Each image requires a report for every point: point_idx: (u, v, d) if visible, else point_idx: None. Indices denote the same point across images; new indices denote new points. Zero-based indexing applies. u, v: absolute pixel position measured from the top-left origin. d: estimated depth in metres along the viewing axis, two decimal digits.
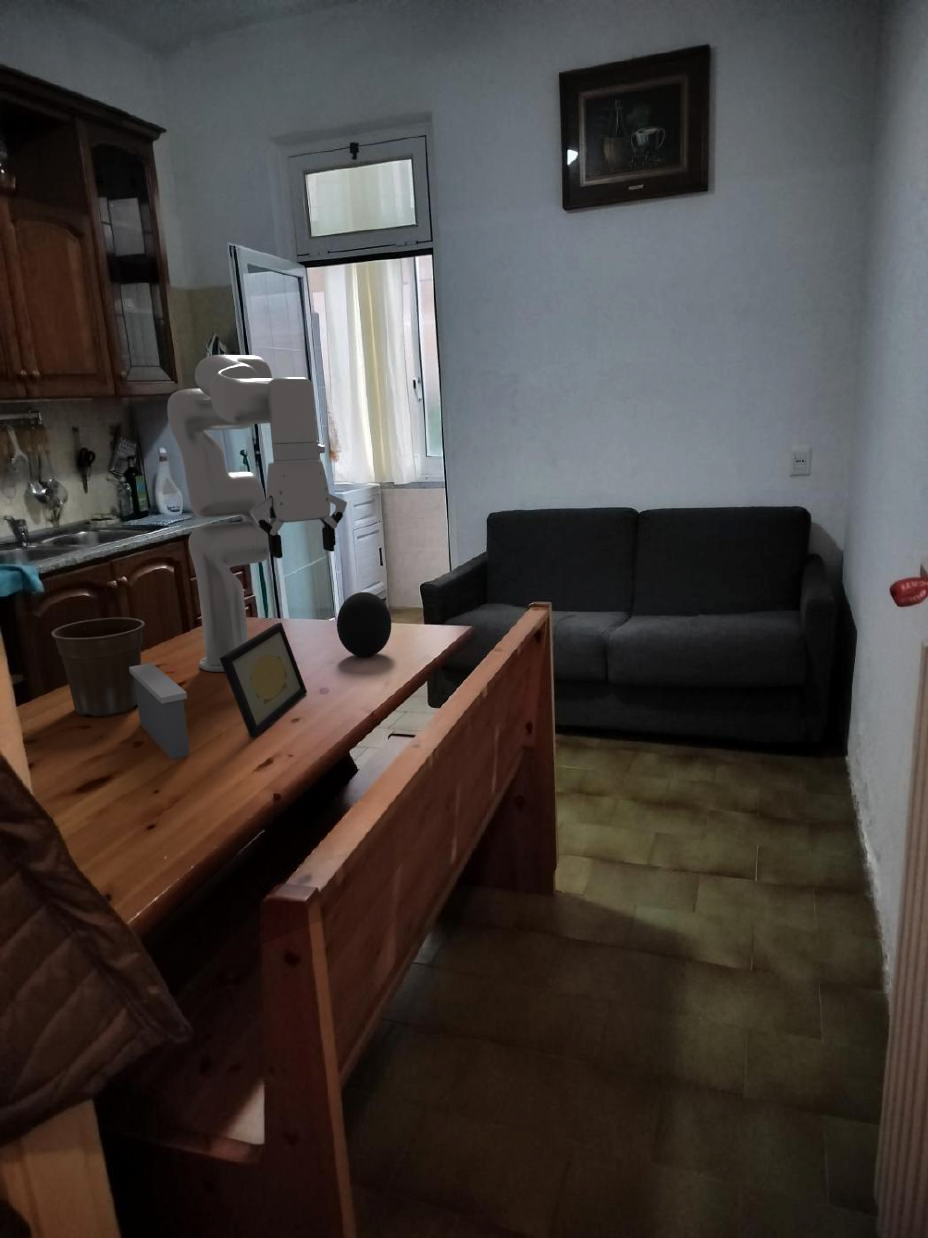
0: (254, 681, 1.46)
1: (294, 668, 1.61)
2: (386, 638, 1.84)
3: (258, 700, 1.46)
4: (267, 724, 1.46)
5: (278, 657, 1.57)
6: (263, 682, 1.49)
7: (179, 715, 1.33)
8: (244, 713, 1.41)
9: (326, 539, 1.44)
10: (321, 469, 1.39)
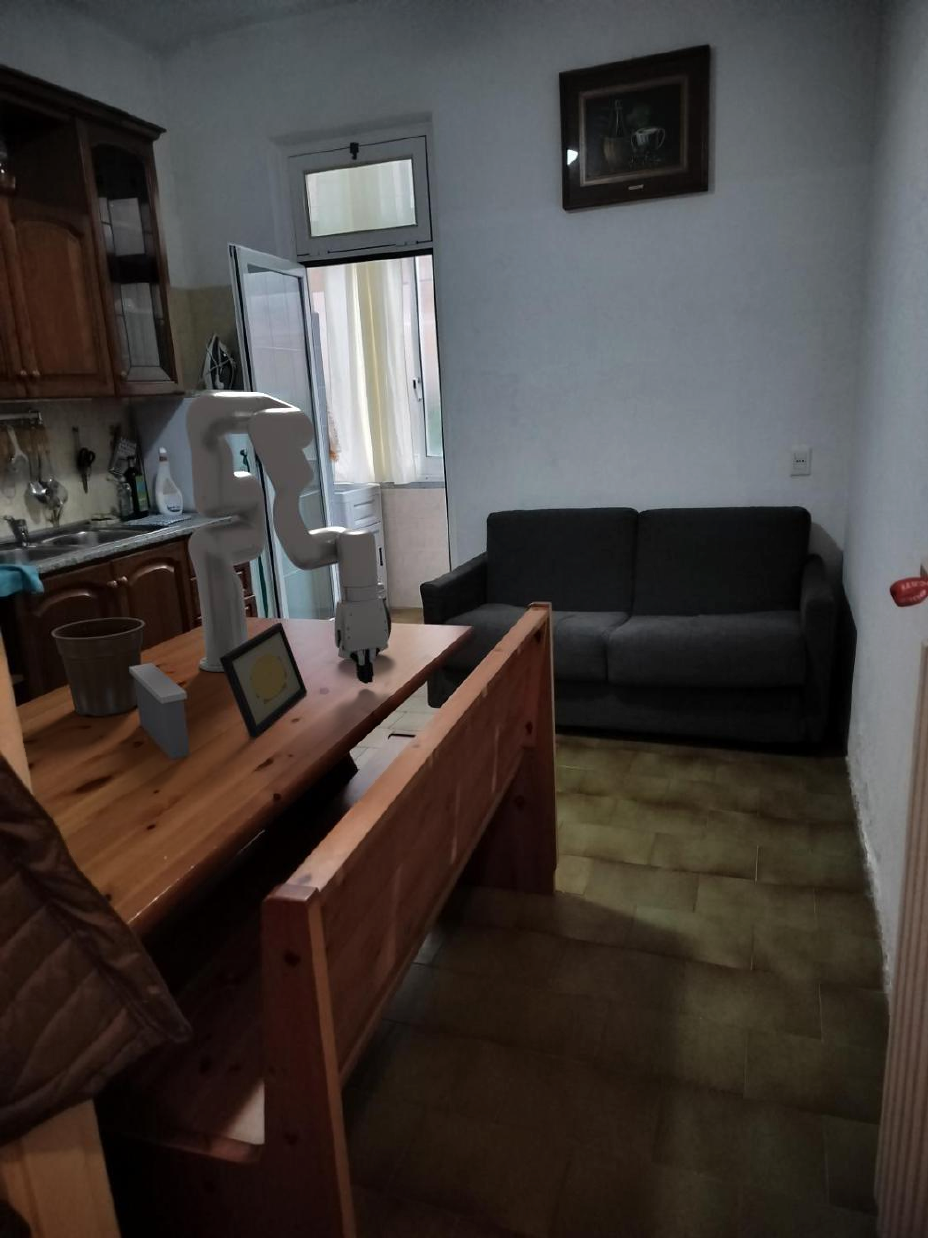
0: (254, 681, 1.46)
1: (294, 668, 1.61)
2: None
3: (258, 700, 1.46)
4: (267, 724, 1.46)
5: (278, 657, 1.57)
6: (263, 682, 1.49)
7: (179, 715, 1.33)
8: (244, 713, 1.41)
9: None
10: (381, 605, 1.62)
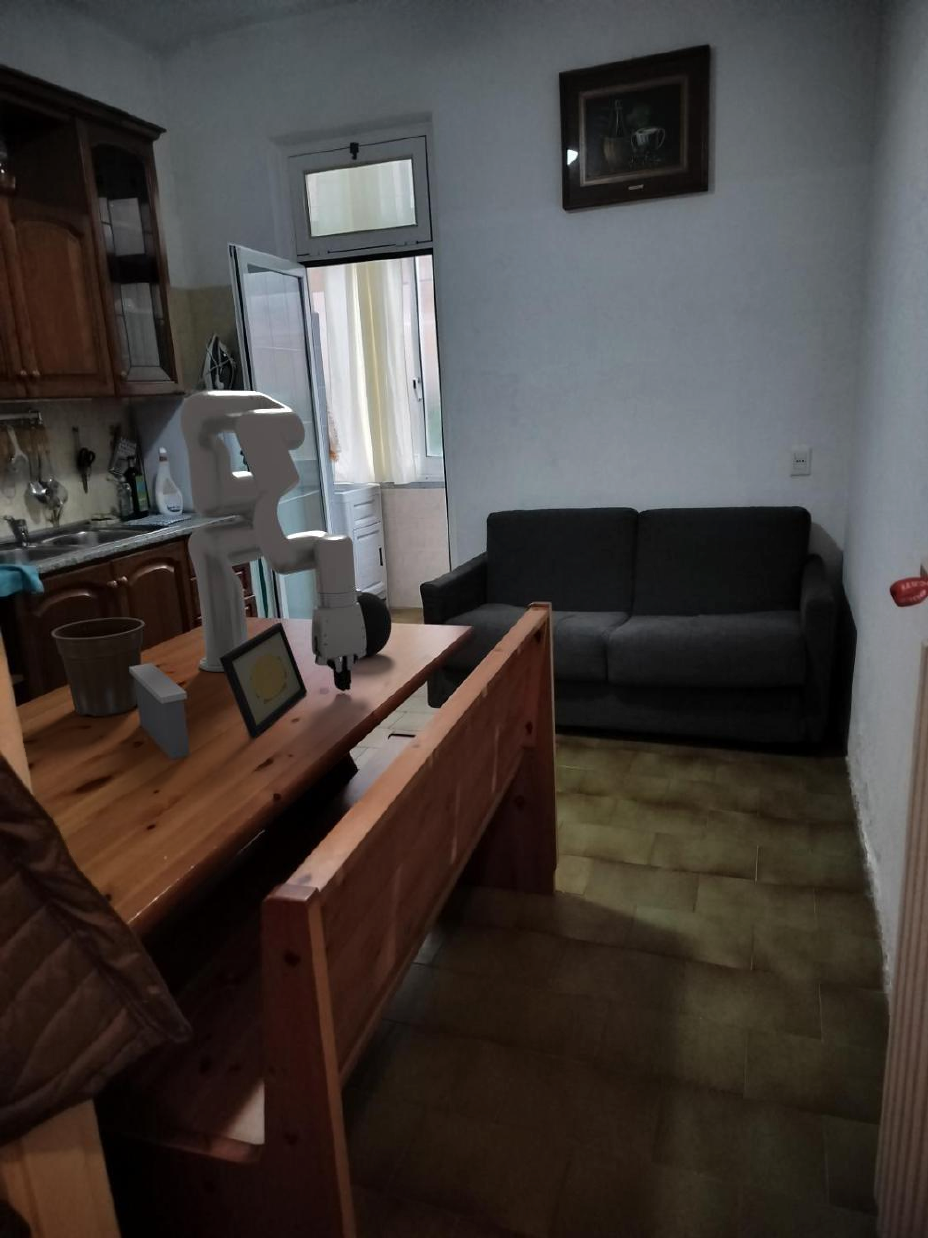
0: (254, 681, 1.46)
1: (294, 668, 1.61)
2: (386, 638, 1.84)
3: (258, 700, 1.46)
4: (267, 724, 1.46)
5: (278, 657, 1.57)
6: (263, 682, 1.49)
7: (179, 715, 1.33)
8: (244, 713, 1.41)
9: None
10: (359, 612, 1.59)
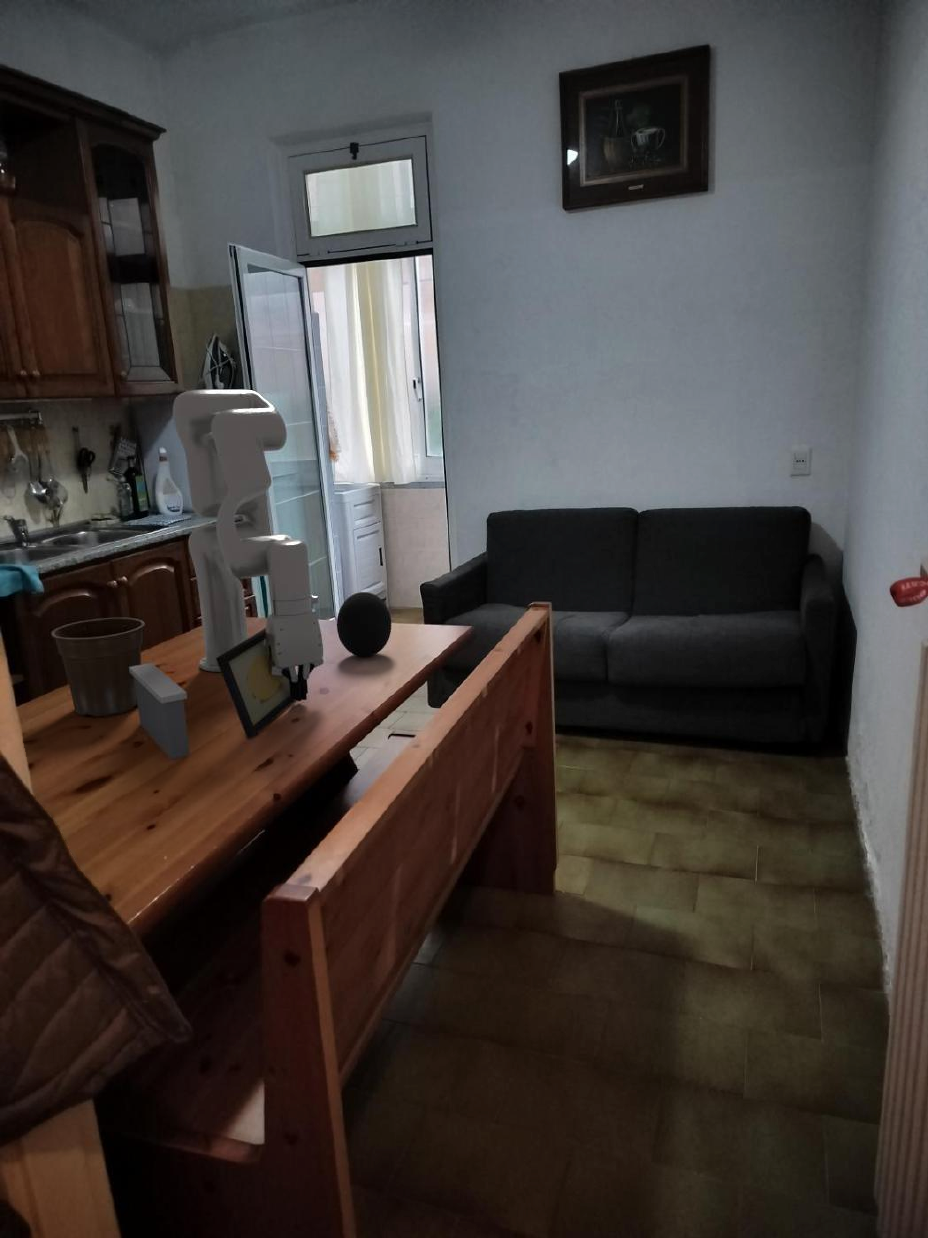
0: (250, 681, 1.46)
1: None
2: (386, 638, 1.84)
3: (254, 700, 1.46)
4: (263, 724, 1.46)
5: None
6: (259, 682, 1.49)
7: (179, 715, 1.33)
8: (240, 713, 1.41)
9: None
10: (315, 619, 1.54)
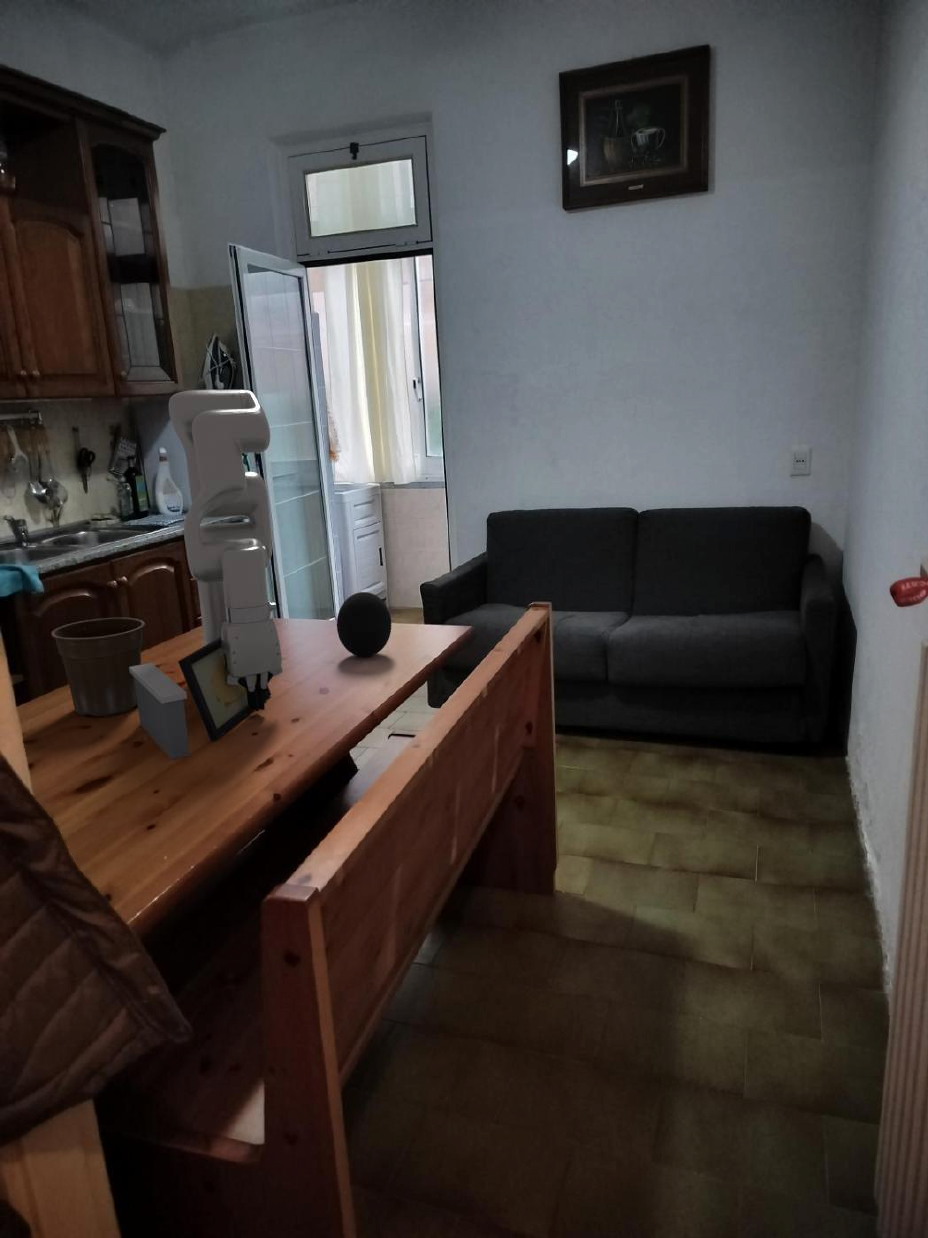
0: (215, 684, 1.45)
1: None
2: (386, 638, 1.84)
3: (219, 703, 1.45)
4: (228, 727, 1.45)
5: None
6: (224, 685, 1.48)
7: (179, 715, 1.33)
8: (204, 716, 1.40)
9: None
10: (272, 627, 1.49)
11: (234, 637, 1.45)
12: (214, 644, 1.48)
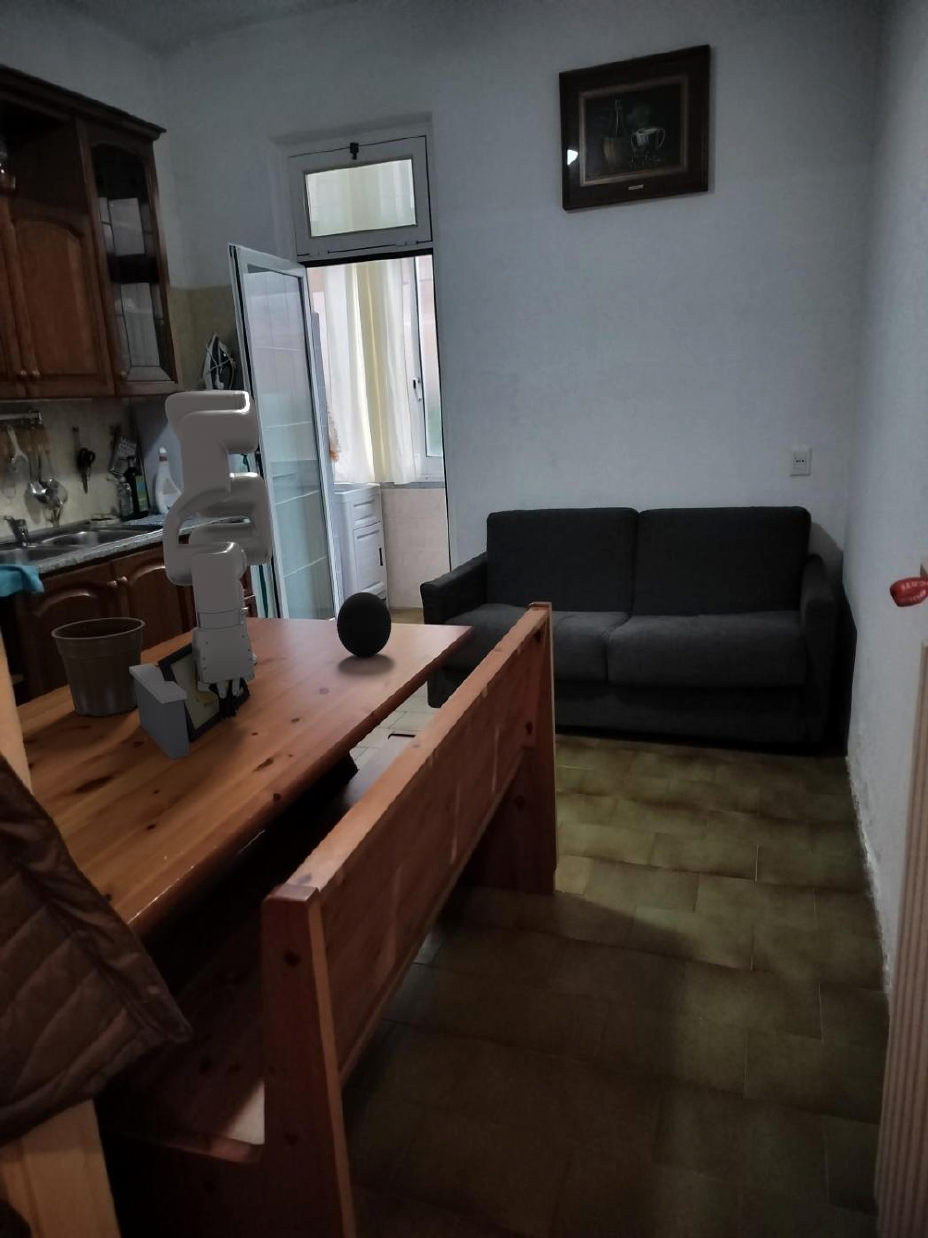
0: (194, 684, 1.45)
1: None
2: (386, 638, 1.84)
3: (197, 704, 1.45)
4: (206, 728, 1.45)
5: None
6: None
7: (179, 715, 1.33)
8: None
9: None
10: (244, 632, 1.46)
11: (204, 643, 1.42)
12: None
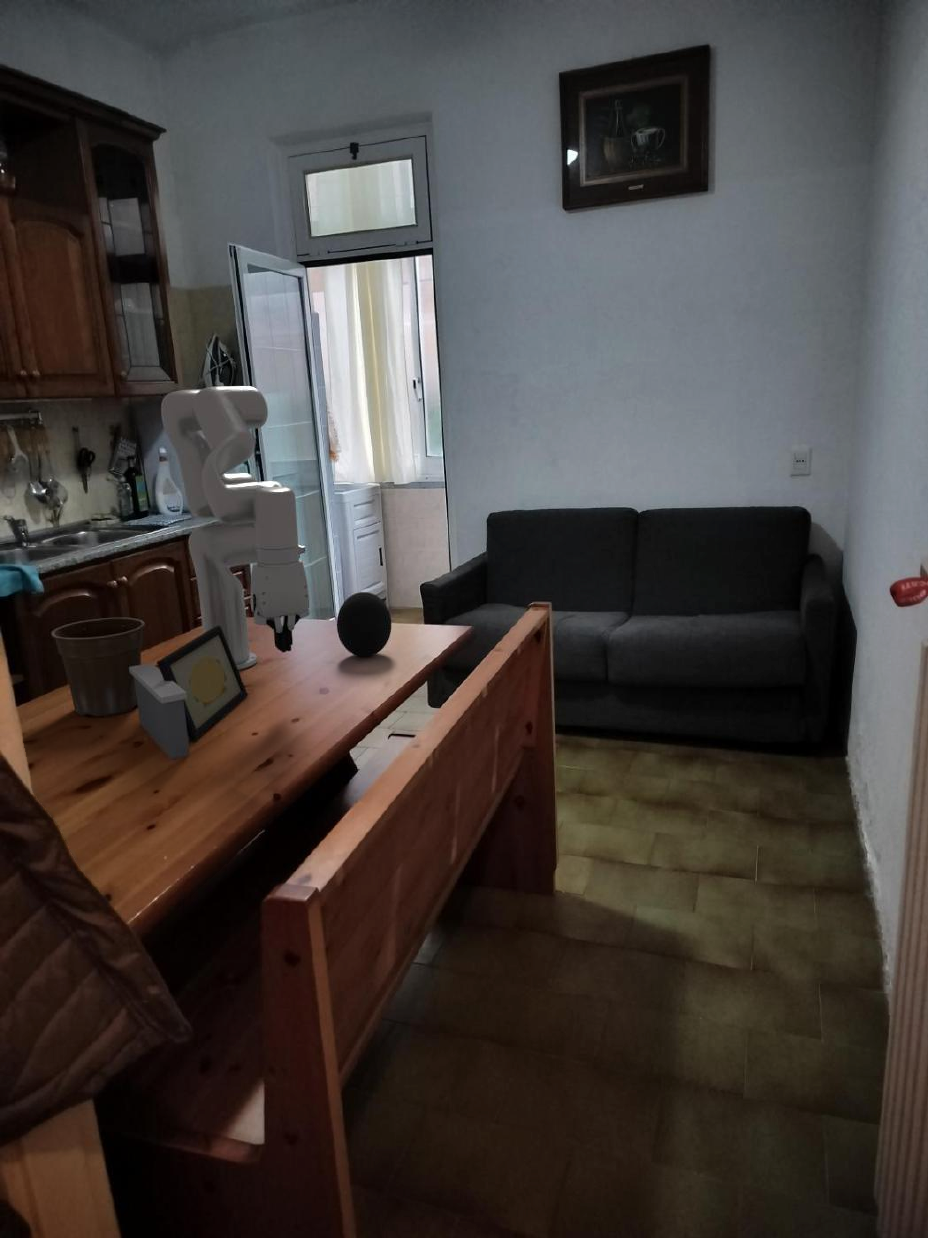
0: (193, 684, 1.45)
1: (234, 671, 1.61)
2: (386, 638, 1.84)
3: (197, 703, 1.45)
4: (207, 727, 1.45)
5: (218, 660, 1.56)
6: (202, 685, 1.48)
7: (179, 715, 1.33)
8: None
9: None
10: (301, 569, 1.51)
11: (264, 578, 1.47)
12: (191, 645, 1.48)
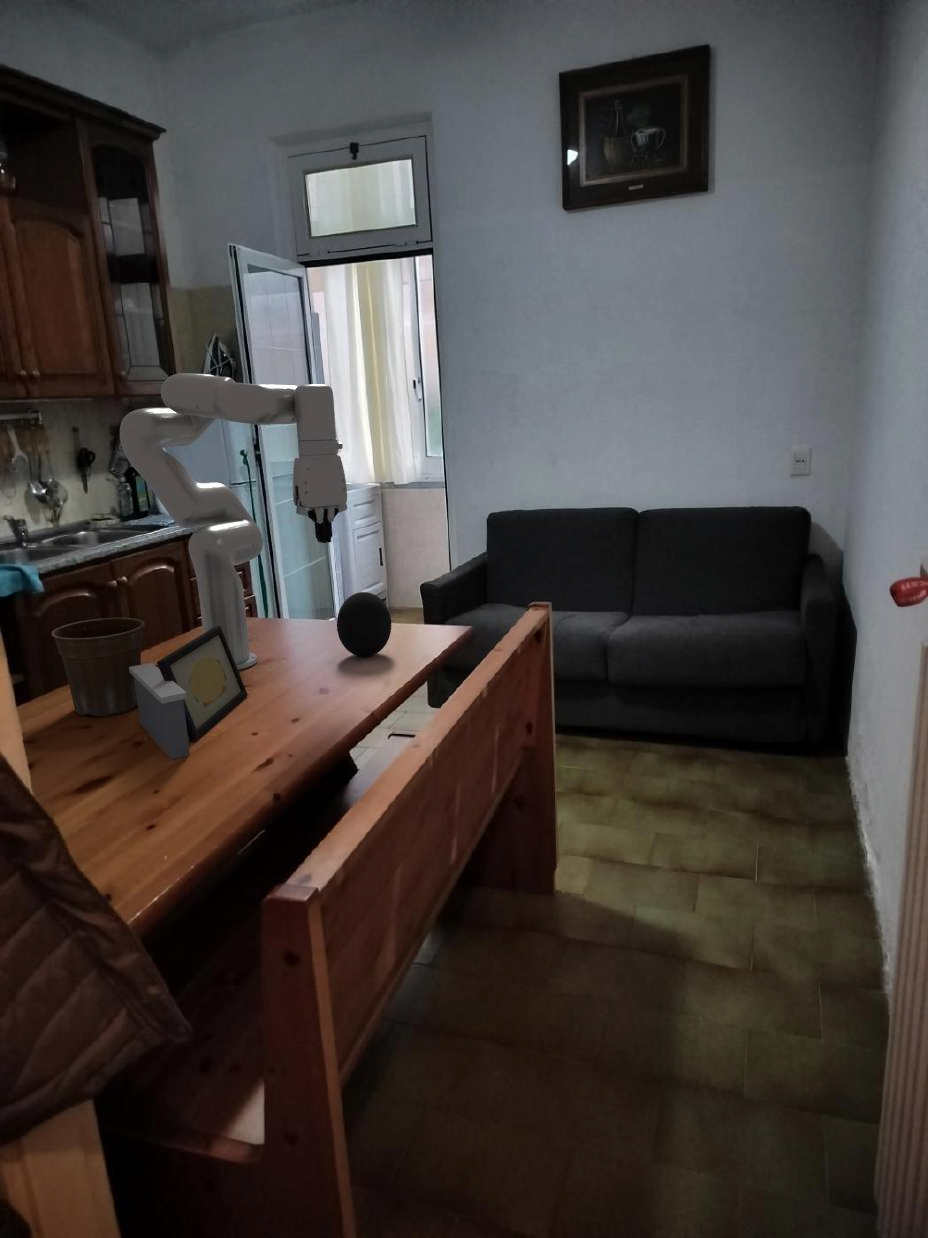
0: (193, 684, 1.45)
1: (234, 671, 1.61)
2: (386, 638, 1.84)
3: (197, 703, 1.45)
4: (207, 727, 1.45)
5: (218, 660, 1.56)
6: (202, 685, 1.48)
7: (179, 715, 1.33)
8: None
9: None
10: (339, 463, 1.62)
11: (306, 468, 1.58)
12: (191, 645, 1.48)
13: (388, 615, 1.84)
